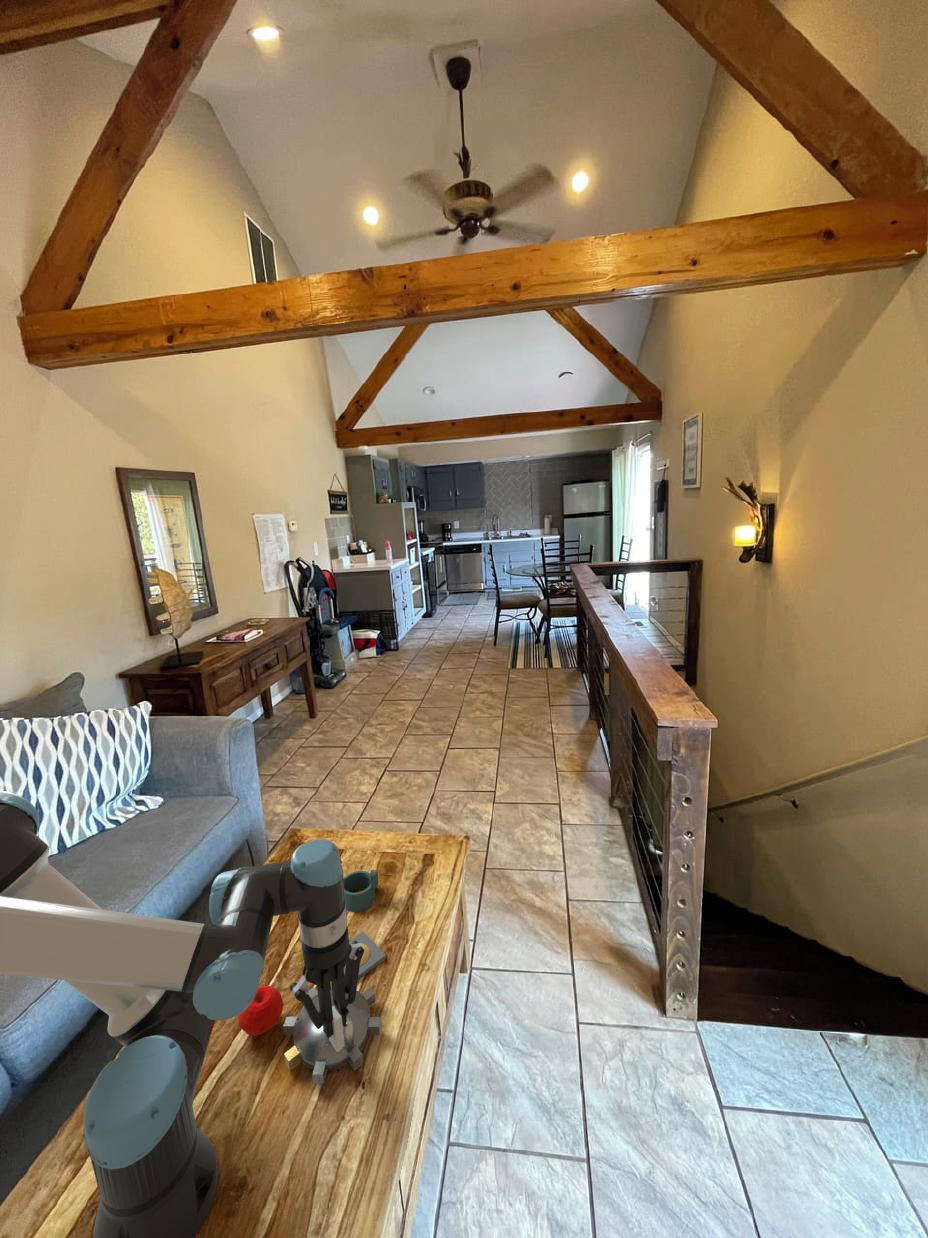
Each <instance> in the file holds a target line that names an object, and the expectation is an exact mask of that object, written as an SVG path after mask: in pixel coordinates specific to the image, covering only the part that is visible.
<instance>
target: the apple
mask: <svg viewBox="0 0 928 1238" xmlns="http://www.w3.org/2000/svg"><path fill="white" fill-rule="evenodd" d="M283 1009H284V1000H283V998H282V994H281V991H280V990H279V989H277V988H276V987H274V986H272V985H261V986H260V985H259V986H258V990H257V993H256V996H255V998H254V1000H253V1001H252V1003H251V1004H250V1006H249V1007H248V1008H247V1009H246V1010H245V1011H243V1012H242V1013H241V1014H239V1015H237V1016H238V1017H237V1021H238V1023H239V1027H240V1029H241V1030H242V1031H243V1032H245V1034H247V1035H249V1036H260V1035H262V1034H264V1033H266V1032H268V1031H270V1030H271V1029H272V1028H273V1026H275V1025H276V1024H277V1022H278V1021H279V1020H280V1018H281V1016H282V1012H283Z"/></svg>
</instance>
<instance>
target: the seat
mask: <svg viewBox="0 0 928 1238" xmlns="http://www.w3.org/2000/svg"><path fill="white" fill-rule="evenodd" d="M354 941H357V942H358V943H359V944H360V945H361V946H362V947H363V949H364V954H363V956H362V959H361V961H360V967H359V975H358V980H360V979H362V977H364V976H365V975H367V974H368V973H369V972H370V971H372V970H374V968H376V967H377V966H379V965H380V964H381V963H382V962H384V961H385V960H386V958H387V955H386V954H385V953H384V952H383V951H382V949H380V947H378V946H377V944H375V942H374V941H373V940H372V939H371V938H370V937H369V936H368V935H367V934H366V933H365V931H362V932H360V933H358V934H357V935H355V936H354V937H353V938H351V939H349V944H352V943H353V942H354ZM345 969H346V965H345V967H344V976H345Z"/></svg>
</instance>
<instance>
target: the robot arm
mask: <svg viewBox="0 0 928 1238" xmlns="http://www.w3.org/2000/svg"><path fill="white" fill-rule="evenodd" d="M39 820H40V815H39V812H38V810H37V809H36V807H35V806H34V805H33V803H32V802H30V800H28V799H27V798H25V797H23V796H21V795H19V794H16V793H14V792H10V791H6V790H0V975H6V976H16V977H17V976H18V977H27V978H39V979H48V980H49V979H50V980H56V981H57V980H59V981H64V982H65V983H66V984H68V985H69V986H70V987H72V988H73V989H74V990H75V991H77V992H78V993H79V994H80V995H82V996H83V997H84V998H86V999H87V1000H88V1001H89V1002H91V1003H92V1004H93V1005H95V1006H96V1007H98V1009H100V1010H101V1011H102V1012H104V1013H105V1014H107V1016H108V1022H107V1033H108V1035H110V1037H112V1038H113V1039H114V1040H116V1041H117V1042H119V1043H120V1044H121V1045H122V1046H123V1047H124V1048H123V1049H121V1050H120V1051H119V1052H118V1055H117V1057H116V1058H115V1059H114V1060H110V1061H109V1062H108V1063H107V1064H106V1065H105V1066H104V1067H103V1069H102V1070H101V1071H100V1072H99V1074H98V1076H97V1077H96V1078H95V1080H94V1082H93V1084H92V1085H91V1088H90V1090H89V1093H88V1095H87V1098H86V1101H85V1105H84V1111H83V1135H84V1136H83V1137H84V1144H85V1149H86V1151H87V1154H88V1155H89V1158H90V1161H91V1162H90V1163H91V1165H92V1169H93V1172H94V1173H93V1174H94V1177H95V1181H96V1185H97V1189H98V1192H99V1195H100V1198H99V1202H98V1208H97V1212H96V1216H95V1217H96V1218H95V1221H94V1222H95V1223H94V1227H93V1238H195V1237H196V1236H197V1234H198V1232H199V1231H200V1229H201V1228H202V1226H203V1225H204V1222H205V1221H206V1219H207V1217H208V1215H209V1212H210V1210H211V1208H212V1205H213V1203H214V1200H215V1197H216V1193H217V1188H218V1183H219V1165H218V1159H217V1158H218V1157H217V1155H216V1150H215V1148H214V1145H213V1143H212V1141H211V1140H210V1139H209V1137H207V1135H206V1134H204V1132H203V1131H201V1130H200V1128H198V1127H197V1123H196V1118H195V1113H194V1107H193V1105H194V1097H195V1092H196V1089H197V1085H198V1082H199V1079H200V1074H201V1070H202V1067H203V1065H204V1062H205V1058H206V1054H207V1050H208V1047H209V1043H210V1040H211V1038H212V1037H211V1036H212V1032H213V1028H214V1026H215V1022H216V1021H225V1020H229V1019H232V1018H235V1017H237V1016H239V1014H241V1013H242V1012H243V1011H245V1010H246V1009H247V1008H248V1007H249V1006H250V1004H251V1003H252V1001H253V1000H254V998H255V996H256V993H257V990H258V987H260V985H259V984H260V981H261V978H262V976H263V973H264V970H265V959H266V954H267V949H268V944H269V938H270V935H271V930H272V926H273V925H272V924H273V920H274V917H278V916H283V915H288V914H290V913H296V912H297V917H298V926H299V935H300V941H301V950H302V957H303V963H304V966H303V968H302V972H301V973H302V977H301V978H300V980H299V981H298V982H293V983H292V984H291V985H290V987H289V990H290V991H291V992H292V994H293V996H294V998H295V999H296V1000H297V1001H299V1002H301V1003H302V1006H303V1007H305V1009H306V1011H307V1013H308V1015H309V1017H310V1019H311V1020H312V1022H313V1023H314V1025H315V1027H316V1028H317V1029H320V1028H321V1027H322V1026H323V1031H324V1033H325V1034H326V1036H327V1037H328V1038H329V1041H330V1042H331V1044H332V1045H333V1047H334V1048H335V1050H336V1051H337V1052H338V1051H339V1050H341V1049H342V1048H343V1047H344V1046H345V1044H344V1034H343V1026H344V1025H346V1022H347V1019H346V1016H347V1015H348V1013H349V1011H348V1009H347V1006H348V1004H349V1003H350V1004H352V1003H353V1002H354V1001H355V997H356V991H358V990H357V988H358V982H359V981H358V980H359V979H358V975H359V967H360V961H361V959H362V956H363V954H364V949H363V947H362V946H361V945H360V944H359V943H358V942H357V941H354V942H353V943H352V944H349V941H350V939H349V938H350V937H349V926H348V919H347V918H348V917H347V910H346V906H345V896H344V883H343V878H344V870H343V871H342V868H343V865H342V861H341V857H340V856H341V855H340V851H339V848H338V846H337V845H336V844H335V843H334V842H333V841H331V840H328V839H325V838H324V839H323V838H316V839H311V840H309V842H307V843H302V844H301V845H299V846H297V848H296V849H295V850H294V851H293V853H292V855H291V859H289V860H287V861H281V862H274V863H268V864H267V863H265V864H261V865H253V866H243V867H239V868H237V869H233V870H228V871H223V872H221V873H219V874H218V875H217V876H216V877H215V878H214V880H213V883H212V884H211V889H210V895H209V899H208V900H209V903H208V907H209V908H208V909H209V910H208V911H209V917H210V919H211V923H212V924H211V923H210V924H209V923H200V922H194V921H193V922H192V921H185V920H178V919H171V918H163V917H156V916H151V915H150V916H149V915H142V914H141V915H140V914H135V913H127V912H121V911H113V910H105V909H102V908H101V907H100V906H99V905H98V904H96V903H95V902H94V901H93V900H92V899H91V898H89V896H87V895H86V894H85V893H83V891H81V890H80V889H79V888H78V887H77V886H75V885H74V884H73V883H72V882H71V881H70V880H68V879H67V878H66V877H65V876H63V874H61V873H60V872H59V871H58V869H57V870H56V868H54V867H53V866H52V865H51V864H50V863H49V854H50V849H51V848H50V846H49V844H47V843H46V842H45V841H44V840H43V839H42V838H40V837H39V836H38V833H39V829H40V826H41V825H40V822H39ZM345 965H346V969H345V976H344V967H345ZM309 983H311V984H312V985H314V986H316V991H317V992H318V1000H319V1009H320V1010H318V1011H317V1009H316V1007H315V1005H314V1003H313V1001H312V999H311V997H310V996H309V995H308V993H309V990H310V987H309ZM331 988H332V994H333V1003H334V1005H335V1007H334V1006H333V1007H332V1002H331V993H330V990H331ZM318 1012H319V1013H318Z"/></svg>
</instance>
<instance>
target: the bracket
mask: <svg viewBox="0 0 928 1238" xmlns="http://www.w3.org/2000/svg"><path fill="white" fill-rule="evenodd" d="M343 868H344V867H342V871H343V872H344V869H343ZM343 883H344V896H345V906H346V912H350V913H360V912H363V911H366V910H367V909H369V908H370V907H372V906H373V904H374V902H375V899H376V889H377V887H378V885H379V872H378V869H371V870H370V871H366V870H356V871H352V872H350V873H349V874H347V875H345V876H343ZM359 889H364V890H361V891H359V892H358V891H357V892H354V891H355V890H359Z"/></svg>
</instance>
